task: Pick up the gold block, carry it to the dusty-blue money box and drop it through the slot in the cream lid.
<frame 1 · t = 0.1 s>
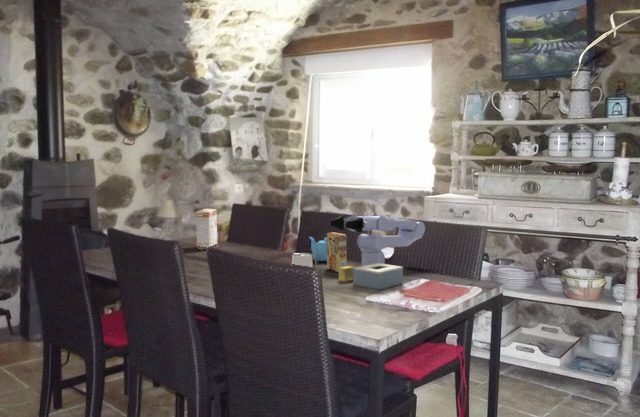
hand: (338, 223, 232), 22 cm above the table, tool horizontal, fingers open, 7 cm apart
candy box: (336, 270, 254), on the table
teapot: (325, 261, 277), on the table
watch: (307, 284, 228), on the table
money box: (378, 284, 226), on the table
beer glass: (302, 299, 204), on the table
coffeecake box: (207, 248, 314), on the table
gold block: (346, 280, 235), on the table
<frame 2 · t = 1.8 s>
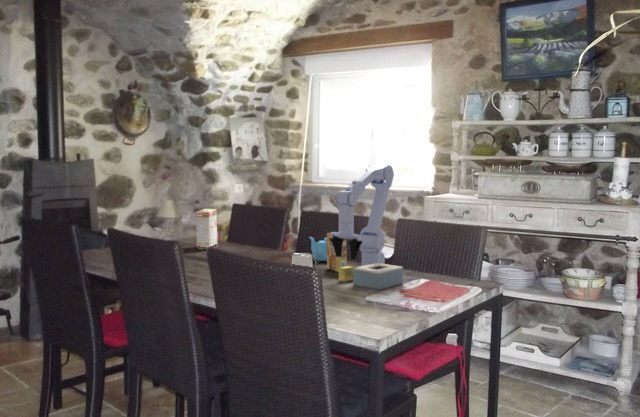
hand: (346, 257, 234), 9 cm above the table, tool pointing down, fingers open, 7 cm apart
nothing on the table moved.
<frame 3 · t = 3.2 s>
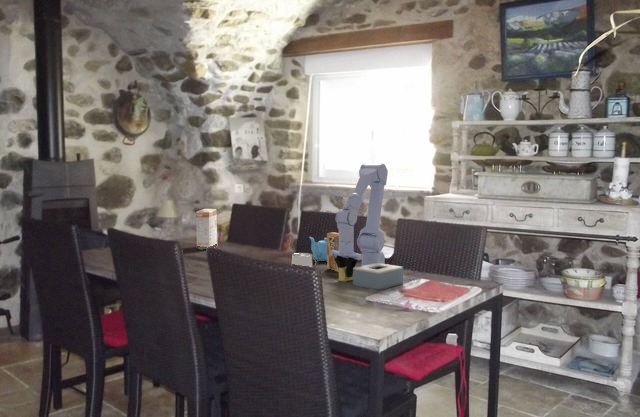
hand: (346, 276, 234), 1 cm above the table, tool pointing down, fingers closed on gold block, 3 cm apart
gold block: (346, 280, 235), on the table, touching gripper
everything else where it was.
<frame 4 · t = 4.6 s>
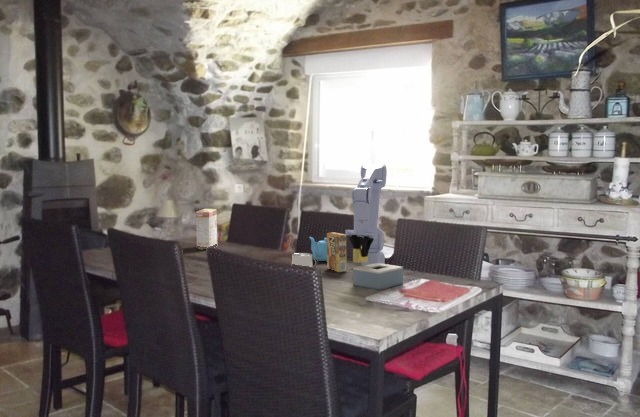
hand: (361, 256, 230), 10 cm above the table, tool pointing down, fingers closed on gold block, 3 cm apart
gold block: (360, 261, 229), point 8 cm above the table, touching gripper
everything else where it was.
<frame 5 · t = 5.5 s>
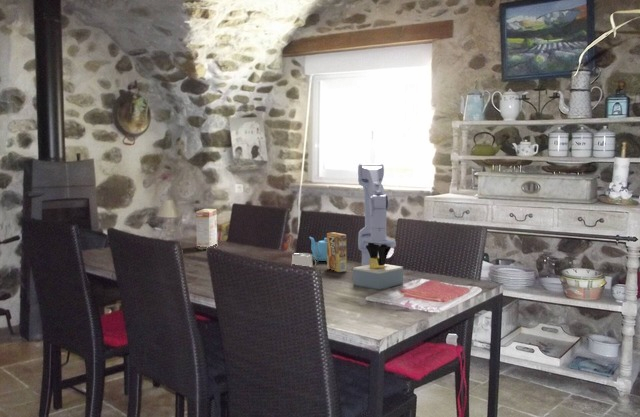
hand: (378, 264, 226), 8 cm above the table, tool pointing down, fingers closed on gold block, 3 cm apart
gold block: (377, 270, 225), point 5 cm above the table, touching gripper
everything else where it was.
when the fingers open (7 cm above the table, at t = 5.9 s): gold block drops 4 cm, resting on money box.
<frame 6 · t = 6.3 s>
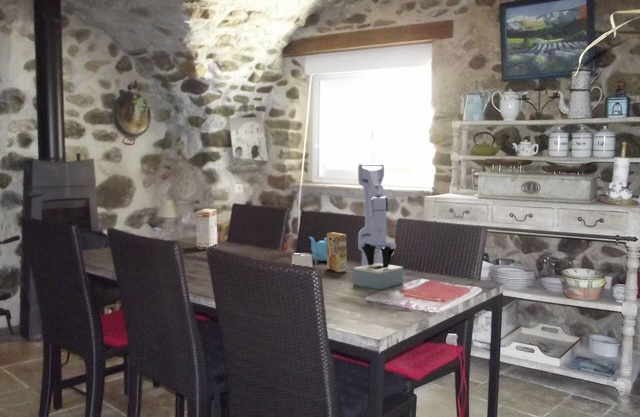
hand: (378, 266, 226), 7 cm above the table, tool pointing down, fingers open, 6 cm apart
gold block: (376, 283, 226), resting on money box
everything else where it was.
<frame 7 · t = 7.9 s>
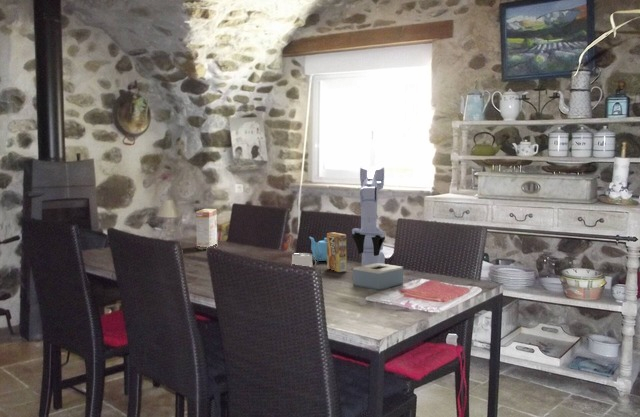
hand: (368, 254, 232), 10 cm above the table, tool pointing down, fingers open, 7 cm apart
nothing on the table moved.
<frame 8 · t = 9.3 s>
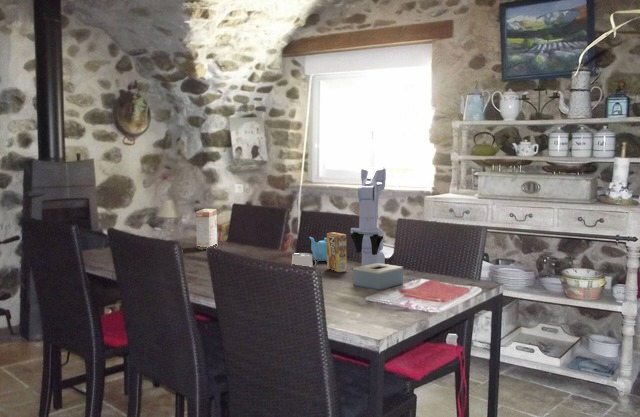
hand: (366, 253, 233), 10 cm above the table, tool pointing down, fingers open, 7 cm apart
nothing on the table moved.
at the end: gold block inside the target area on the money box (0.6 cm from its centre), point 0.5 cm above the money box's base; the gripper is holding nothing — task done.
